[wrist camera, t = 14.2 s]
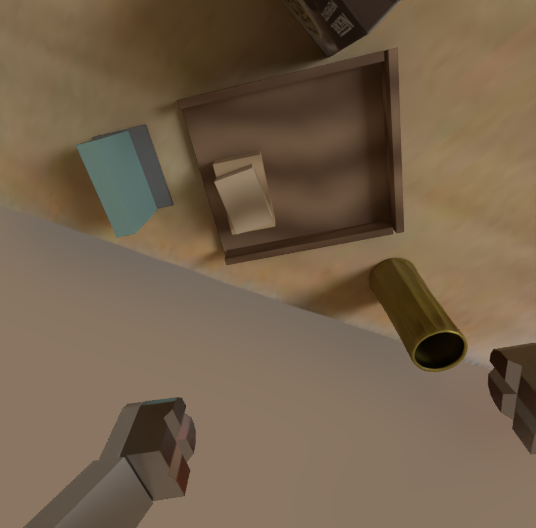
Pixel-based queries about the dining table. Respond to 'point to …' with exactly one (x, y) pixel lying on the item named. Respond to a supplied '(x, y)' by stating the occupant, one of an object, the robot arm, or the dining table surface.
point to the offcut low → (256, 159)
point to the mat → (149, 164)
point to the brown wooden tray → (309, 153)
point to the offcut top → (244, 199)
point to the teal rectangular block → (119, 181)
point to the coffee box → (339, 20)
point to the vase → (418, 316)
